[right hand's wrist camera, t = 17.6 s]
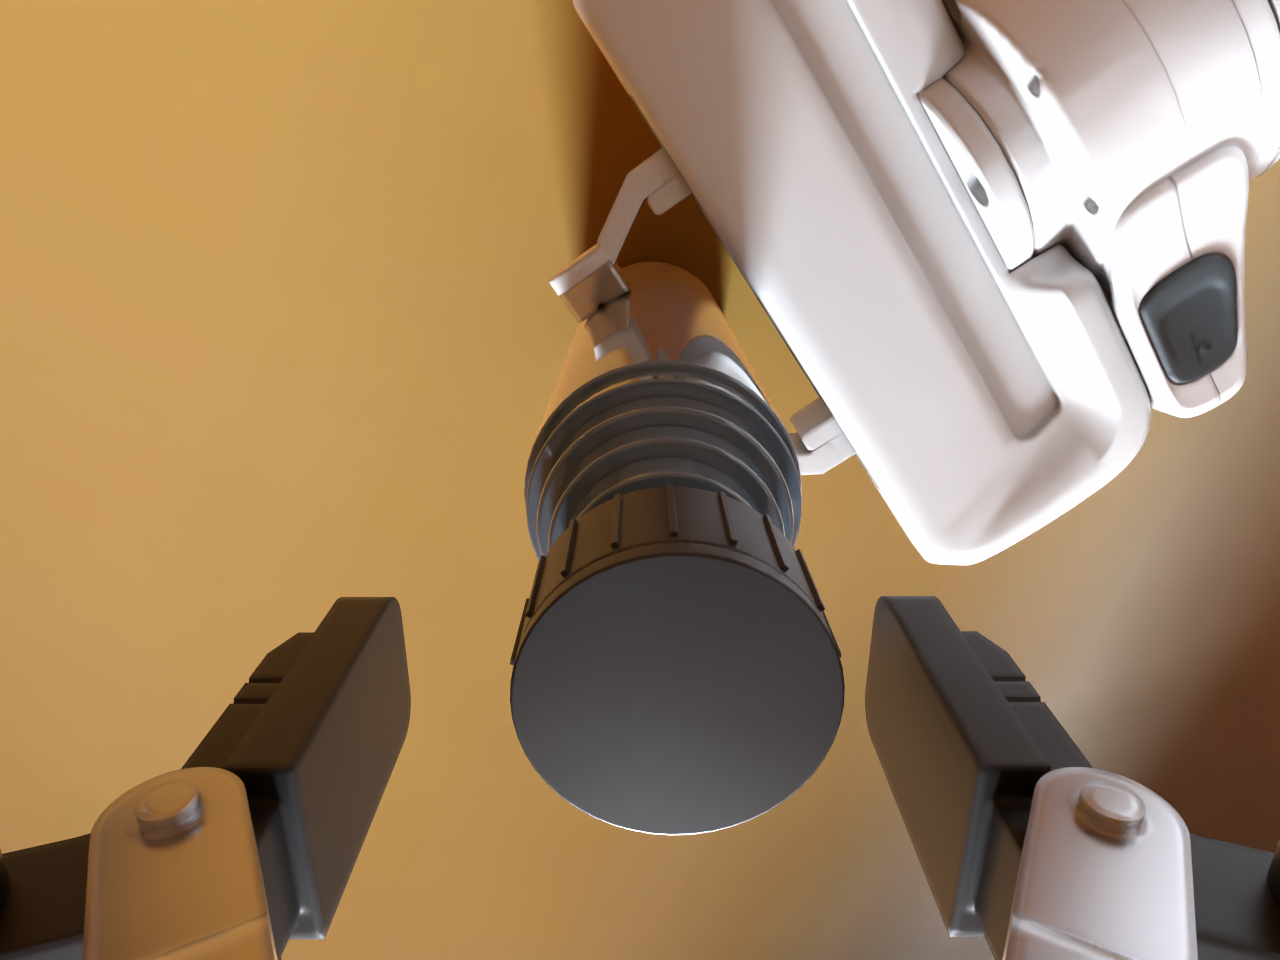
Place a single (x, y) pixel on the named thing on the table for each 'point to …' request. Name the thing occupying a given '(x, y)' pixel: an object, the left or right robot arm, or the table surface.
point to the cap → (675, 664)
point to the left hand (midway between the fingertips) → (630, 392)
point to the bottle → (658, 412)
